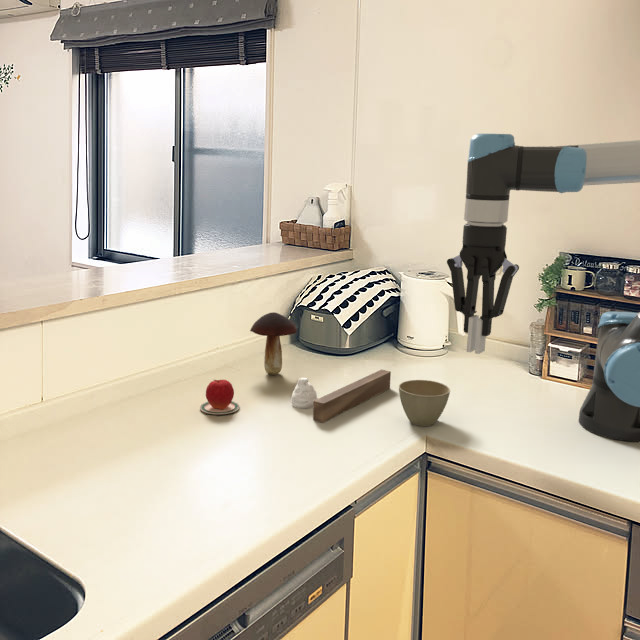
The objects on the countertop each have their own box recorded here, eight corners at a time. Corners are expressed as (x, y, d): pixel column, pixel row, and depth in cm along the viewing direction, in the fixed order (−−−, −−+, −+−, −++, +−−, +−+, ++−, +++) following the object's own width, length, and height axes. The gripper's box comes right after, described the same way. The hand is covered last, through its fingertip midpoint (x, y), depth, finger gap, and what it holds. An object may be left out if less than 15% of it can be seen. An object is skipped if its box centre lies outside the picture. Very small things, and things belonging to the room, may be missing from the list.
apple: (193, 413, 142) (192, 382, 141) (210, 400, 150) (210, 371, 148) (229, 418, 140) (229, 387, 138) (245, 405, 147) (245, 375, 146)
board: (389, 388, 159) (390, 371, 158) (323, 422, 138) (323, 403, 138) (380, 386, 160) (381, 369, 159) (313, 419, 140) (313, 400, 139)
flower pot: (447, 433, 135) (449, 398, 133) (394, 428, 137) (396, 393, 135) (448, 414, 144) (450, 381, 142) (399, 410, 146) (401, 377, 144)
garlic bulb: (287, 379, 145) (298, 372, 150) (286, 406, 147) (298, 398, 152) (310, 383, 143) (322, 375, 148) (310, 411, 145) (321, 402, 150)
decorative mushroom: (246, 369, 171) (245, 308, 167) (290, 365, 174) (290, 306, 170) (255, 383, 160) (255, 319, 157) (302, 379, 164) (303, 316, 160)
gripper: (531, 225, 124) (519, 353, 130) (458, 219, 132) (449, 340, 138) (515, 228, 118) (504, 363, 124) (440, 221, 126) (432, 348, 132)
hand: (475, 351), depth 131 cm, fingers closed
